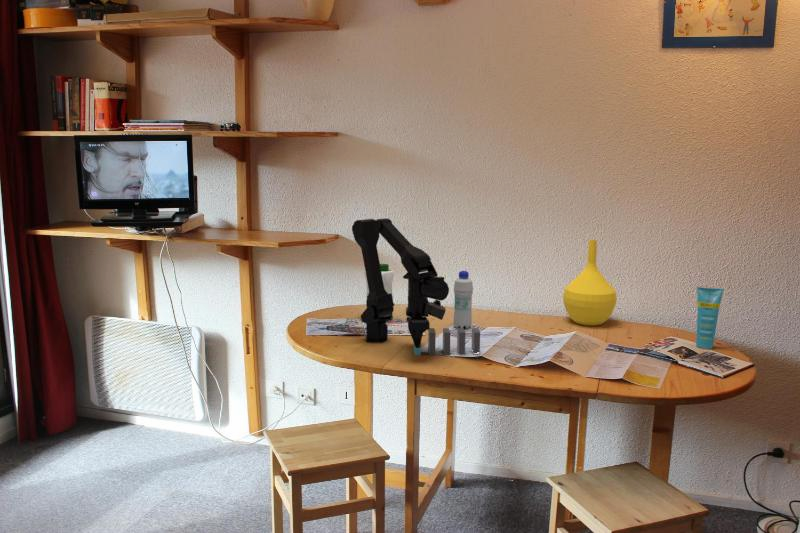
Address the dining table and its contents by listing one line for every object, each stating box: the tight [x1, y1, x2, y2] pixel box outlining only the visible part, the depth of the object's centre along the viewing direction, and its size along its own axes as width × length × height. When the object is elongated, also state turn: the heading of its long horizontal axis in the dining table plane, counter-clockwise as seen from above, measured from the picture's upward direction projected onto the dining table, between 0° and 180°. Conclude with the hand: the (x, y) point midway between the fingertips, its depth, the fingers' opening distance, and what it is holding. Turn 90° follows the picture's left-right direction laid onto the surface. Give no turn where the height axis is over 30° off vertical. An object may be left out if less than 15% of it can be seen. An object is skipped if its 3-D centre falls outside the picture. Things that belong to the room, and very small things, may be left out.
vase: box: [562, 238, 617, 327], centre depth 240 cm, size 18×18×30 cm
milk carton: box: [363, 263, 395, 322], centre depth 242 cm, size 9×9×20 cm
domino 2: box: [427, 327, 436, 356], centre depth 206 cm, size 2×5×7 cm, turn 2°
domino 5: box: [471, 327, 481, 353], centre depth 207 cm, size 2×5×7 cm, turn 2°
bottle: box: [453, 270, 474, 330], centre depth 233 cm, size 7×7×20 cm
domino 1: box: [413, 343, 422, 356], centre depth 206 cm, size 2×5×7 cm, turn 2°
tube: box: [695, 286, 724, 350], centre depth 212 cm, size 7×5×19 cm, turn 72°
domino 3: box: [442, 327, 451, 356], centre depth 207 cm, size 2×5×7 cm, turn 2°
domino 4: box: [456, 327, 466, 355], centre depth 207 cm, size 2×5×7 cm, turn 2°
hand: (416, 344), depth 206 cm, fingers open, 6 cm apart
